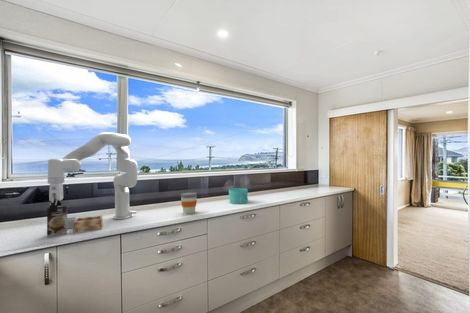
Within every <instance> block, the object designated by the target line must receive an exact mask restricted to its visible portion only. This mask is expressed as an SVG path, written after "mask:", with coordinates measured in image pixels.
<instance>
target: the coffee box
mask: <svg viewBox="0 0 470 313" xmlns="http://www.w3.org/2000/svg"><path fill="white" fill-rule="evenodd" d="M46 211H47V212H46V213H47V214H46V238H51V237H59V236H65V235H68V228H67V218H68V204H63V205H62V204H61V206H57V212H55V213H50V206H47V208H46Z"/></svg>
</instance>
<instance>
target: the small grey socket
mask: <svg viewBox="0 0 470 313" xmlns="http://www.w3.org/2000/svg"><path fill="white" fill-rule="evenodd" d="M76 218H79V216H72V217H71V216H70V217H67V229H72V228H73V229H74V221H75V220H76Z"/></svg>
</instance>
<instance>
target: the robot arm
mask: <svg viewBox="0 0 470 313" xmlns="http://www.w3.org/2000/svg"><path fill="white" fill-rule="evenodd" d="M131 142H132V138H131V137H130V136H129V135H128V134H125V133H124V134H123V133H116V132H111V131H110V132H109V131H108V132H101V133H98V134H96V135H95V136H94V137H92V138H91V139H90V140H88V141H87V142H85V144H83V145H82V146H80V147H78V148H76V149H74V150H72V151H71V152H70V153H68V154H65V156H64V157H62V158H50V159H48V160H47V184H49V192H48V197H49V198H48V199H49V207H50V213H55V212H57V206H61V205H62V200H63V199H64V184H65V174H66V173H65V172H76V171H79V170H80V169H81V168H82V164H83V163H82V162H81V161H82V160H85V159H88V158H91V157H93V156H95V155H96V154H97V153H99V152H100V151H101V150H103V148H105V147H106V146H111V147H112V148H114V150H115V152H116V167H115V168H116V170H117V172H119V174H116V175H115V176H114V177H113V180H112V182H113V187H114V207H115V208H114V215H113V216H112V219H114V220H125V219H130V218H132V217H133V215H132V214H135V215H136V214H137V210H131V209H130V189H129V188H131V189H132V188H134V187H135V186H136V185H137V183H138V174H139V173H138V172H139V170H138V169H139V168H138V162H137V161H136V160H135V159H131V158H130V150H129V148H128V147H129V146H130V145H131Z"/></svg>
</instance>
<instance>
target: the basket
mask: <svg viewBox="0 0 470 313" xmlns="http://www.w3.org/2000/svg"><path fill="white" fill-rule="evenodd" d="M248 192H249V190H248V188H245V187H243V188H241V187H238V188H237V187H234V188H232V187H231V188H228V196H229V197H228V198H229V200H228V201H229V204H232V205H243V204H247V203H248V201H249V198H248V194H249V193H248Z"/></svg>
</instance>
